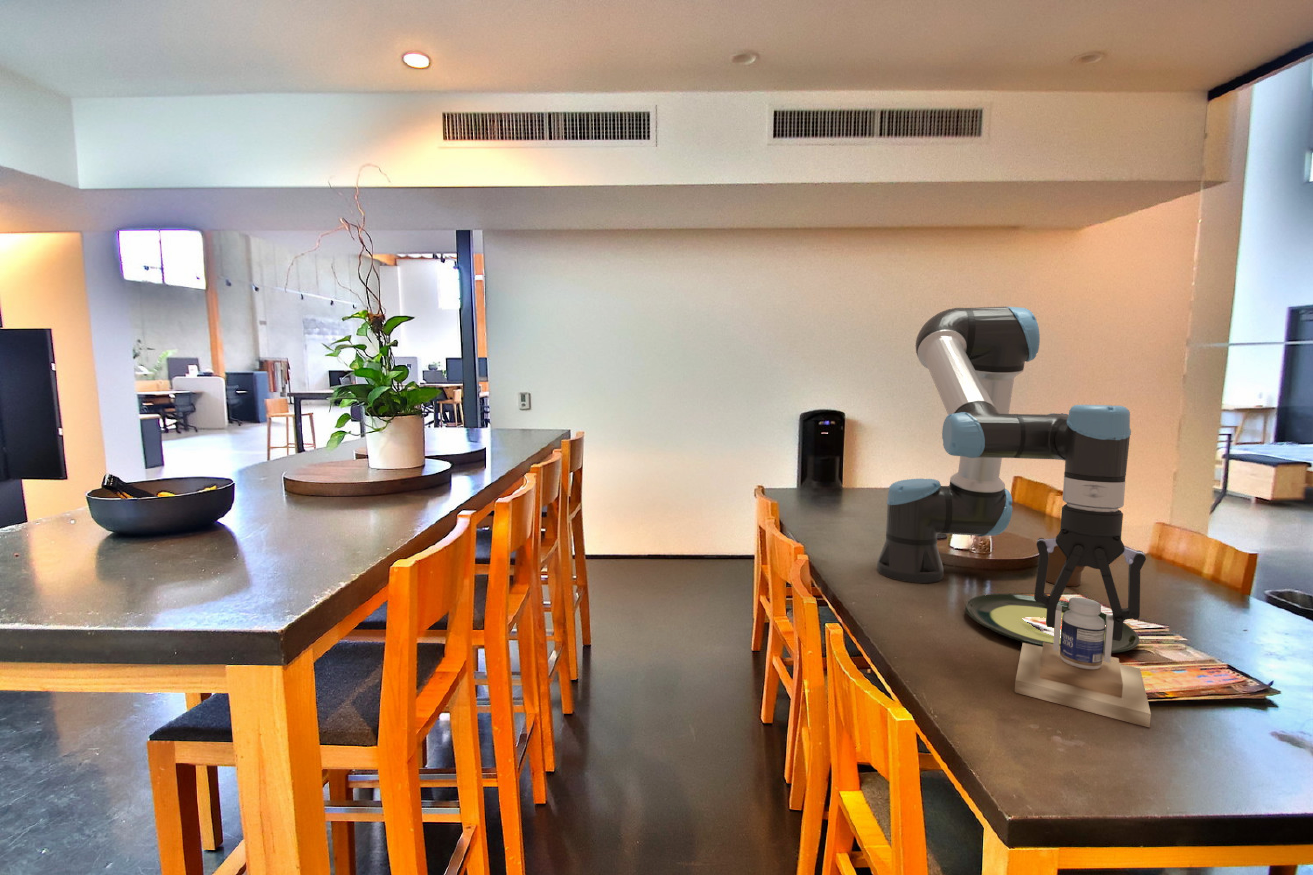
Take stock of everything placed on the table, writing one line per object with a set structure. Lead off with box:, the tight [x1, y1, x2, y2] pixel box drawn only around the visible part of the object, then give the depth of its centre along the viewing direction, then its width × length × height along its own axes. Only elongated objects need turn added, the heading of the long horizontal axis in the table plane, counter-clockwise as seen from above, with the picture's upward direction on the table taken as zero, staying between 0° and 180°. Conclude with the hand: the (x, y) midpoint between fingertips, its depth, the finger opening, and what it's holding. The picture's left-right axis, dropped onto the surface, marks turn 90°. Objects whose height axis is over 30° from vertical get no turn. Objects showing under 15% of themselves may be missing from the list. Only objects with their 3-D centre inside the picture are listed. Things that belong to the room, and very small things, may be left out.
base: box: [1014, 642, 1152, 729], centre depth 93 cm, size 16×16×4 cm
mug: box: [1045, 545, 1086, 587], centre depth 139 cm, size 12×8×9 cm, turn 172°
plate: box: [964, 593, 1141, 654], centre depth 114 cm, size 28×28×2 cm
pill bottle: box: [1060, 597, 1105, 670], centre depth 92 cm, size 5×5×10 cm
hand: (1080, 652), depth 92 cm, fingers open, 6 cm apart
